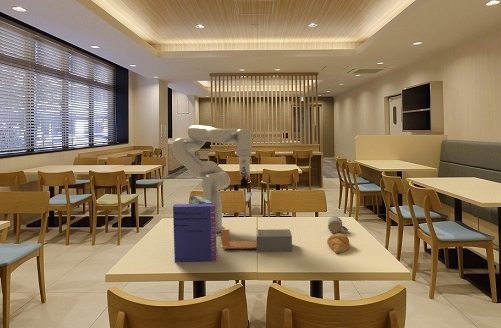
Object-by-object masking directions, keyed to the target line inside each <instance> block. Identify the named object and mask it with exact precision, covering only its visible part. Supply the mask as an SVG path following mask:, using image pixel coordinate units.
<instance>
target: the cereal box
mask: <svg viewBox="0 0 501 328" xmlns="http://www.w3.org/2000/svg"><path fill="white" fill-rule="evenodd" d="M172 218H173V243H174V244H173V245H174V246H173V250H174V251H173V252H174V253H173V255H174V263H193V262H194V263H197V262H199V263H200V262H203V263H205V262H206V263H207V262H217V258H218V254H217V252H218V251H217V250H218V249H217V248H218V247H217V233H216V204H191V203H177V204H175V203H174V204H173V207H172Z"/></svg>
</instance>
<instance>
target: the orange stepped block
mask: <svg viewBox="0 0 501 328" xmlns="http://www.w3.org/2000/svg"><path fill="white" fill-rule="evenodd" d="M230 230H231V229H230V228H229V229H228V228H225V229H222V232H221V245H222V246H221V249H257V240H255V241H231V235H230V232H231V231H230Z"/></svg>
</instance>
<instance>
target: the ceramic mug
mask: <svg viewBox="0 0 501 328" xmlns="http://www.w3.org/2000/svg"><path fill="white" fill-rule="evenodd" d="M327 229H328V230H329V232H330V233H333V234H337V233H343V234H347V233H348V232H349V229H348V228H347V227H345V226H344V225H343V221H342V219H341V218H340V217H339V216H337V215H336V216H331V217H329V219H328V221H327Z"/></svg>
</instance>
